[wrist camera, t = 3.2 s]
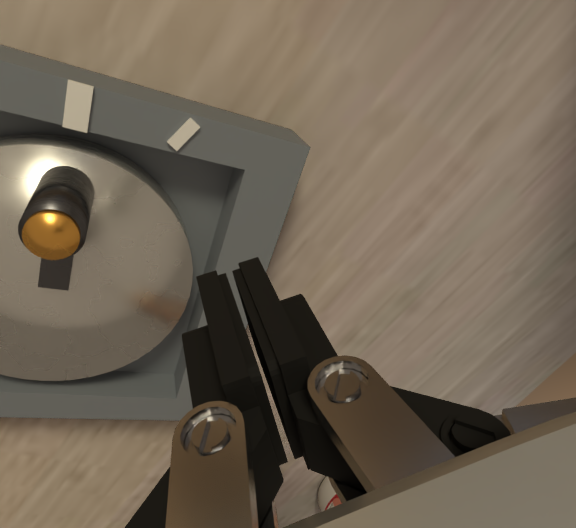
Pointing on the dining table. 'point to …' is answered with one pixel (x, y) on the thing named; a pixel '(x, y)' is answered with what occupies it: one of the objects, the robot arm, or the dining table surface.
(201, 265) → the housing
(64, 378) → the dial
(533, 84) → the dining table surface
